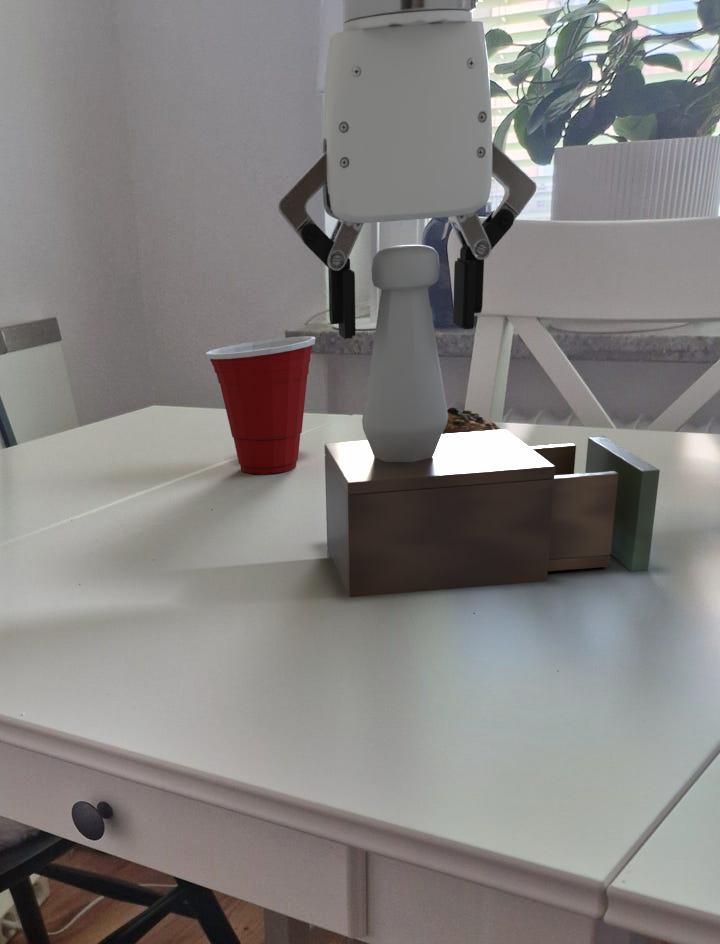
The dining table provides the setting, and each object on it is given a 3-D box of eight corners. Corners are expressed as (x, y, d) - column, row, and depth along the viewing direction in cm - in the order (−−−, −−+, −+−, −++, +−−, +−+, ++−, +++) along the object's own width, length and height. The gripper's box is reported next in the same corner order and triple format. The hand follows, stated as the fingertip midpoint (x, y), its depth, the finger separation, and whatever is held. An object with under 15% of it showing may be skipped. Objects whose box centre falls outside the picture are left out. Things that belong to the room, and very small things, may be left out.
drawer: (610, 526, 90) (619, 434, 86) (665, 569, 80) (678, 468, 76) (434, 540, 90) (436, 448, 86) (468, 585, 80) (472, 484, 76)
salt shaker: (464, 454, 80) (471, 241, 73) (401, 469, 77) (402, 250, 71) (407, 443, 84) (409, 241, 78) (346, 457, 82) (342, 249, 75)
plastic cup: (253, 452, 125) (246, 331, 119) (339, 460, 119) (337, 333, 113) (192, 475, 118) (182, 347, 112) (281, 484, 112) (275, 350, 106)
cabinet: (500, 544, 91) (506, 429, 86) (546, 594, 80) (555, 466, 75) (327, 558, 90) (324, 443, 86) (349, 610, 80) (347, 482, 75)
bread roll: (469, 464, 113) (466, 410, 111) (376, 470, 120) (371, 418, 118) (526, 446, 120) (524, 395, 118) (435, 452, 127) (431, 404, 125)
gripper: (537, -3, 71) (520, 315, 80) (254, 18, 71) (269, 334, 80) (575, -20, 64) (552, 328, 74) (263, 2, 64) (278, 349, 73)
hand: (405, 329), depth 77 cm, fingers open, 7 cm apart
